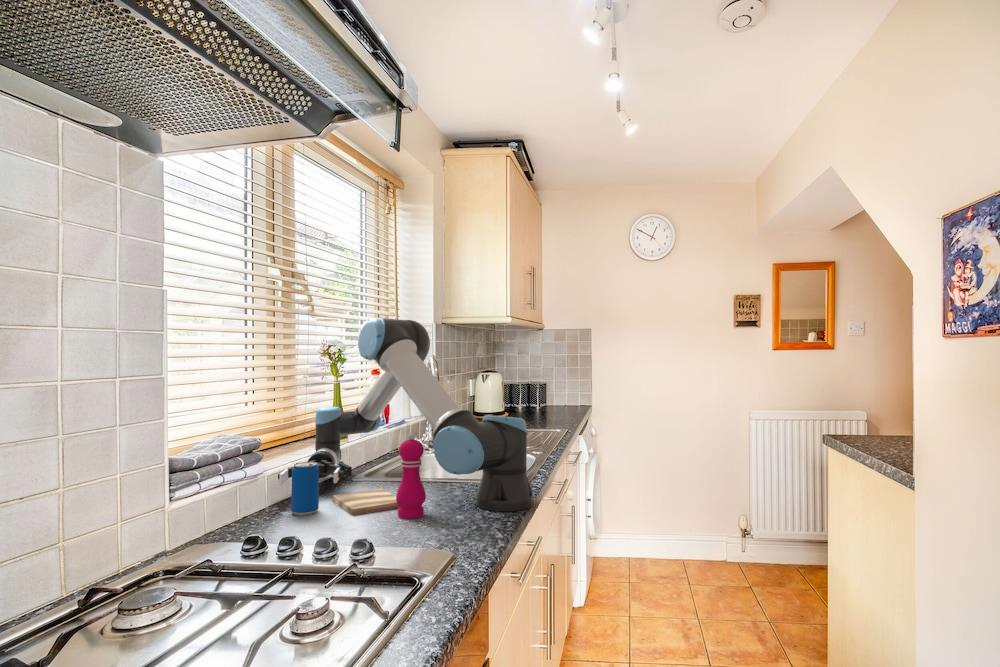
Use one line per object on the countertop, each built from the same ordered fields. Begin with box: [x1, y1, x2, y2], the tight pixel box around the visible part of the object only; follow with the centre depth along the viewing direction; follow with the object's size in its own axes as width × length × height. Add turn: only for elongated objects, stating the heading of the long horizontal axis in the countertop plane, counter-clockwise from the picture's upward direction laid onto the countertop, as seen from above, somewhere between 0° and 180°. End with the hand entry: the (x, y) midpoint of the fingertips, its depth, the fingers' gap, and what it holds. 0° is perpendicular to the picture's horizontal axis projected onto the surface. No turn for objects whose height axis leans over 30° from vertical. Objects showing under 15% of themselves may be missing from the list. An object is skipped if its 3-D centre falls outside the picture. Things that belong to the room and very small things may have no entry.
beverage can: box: [290, 461, 320, 516], centre depth 139 cm, size 6×6×12 cm
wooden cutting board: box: [332, 488, 400, 516], centre depth 147 cm, size 16×14×2 cm
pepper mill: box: [395, 433, 427, 520], centre depth 137 cm, size 7×7×20 cm
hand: (308, 478), depth 145 cm, fingers open, 13 cm apart
